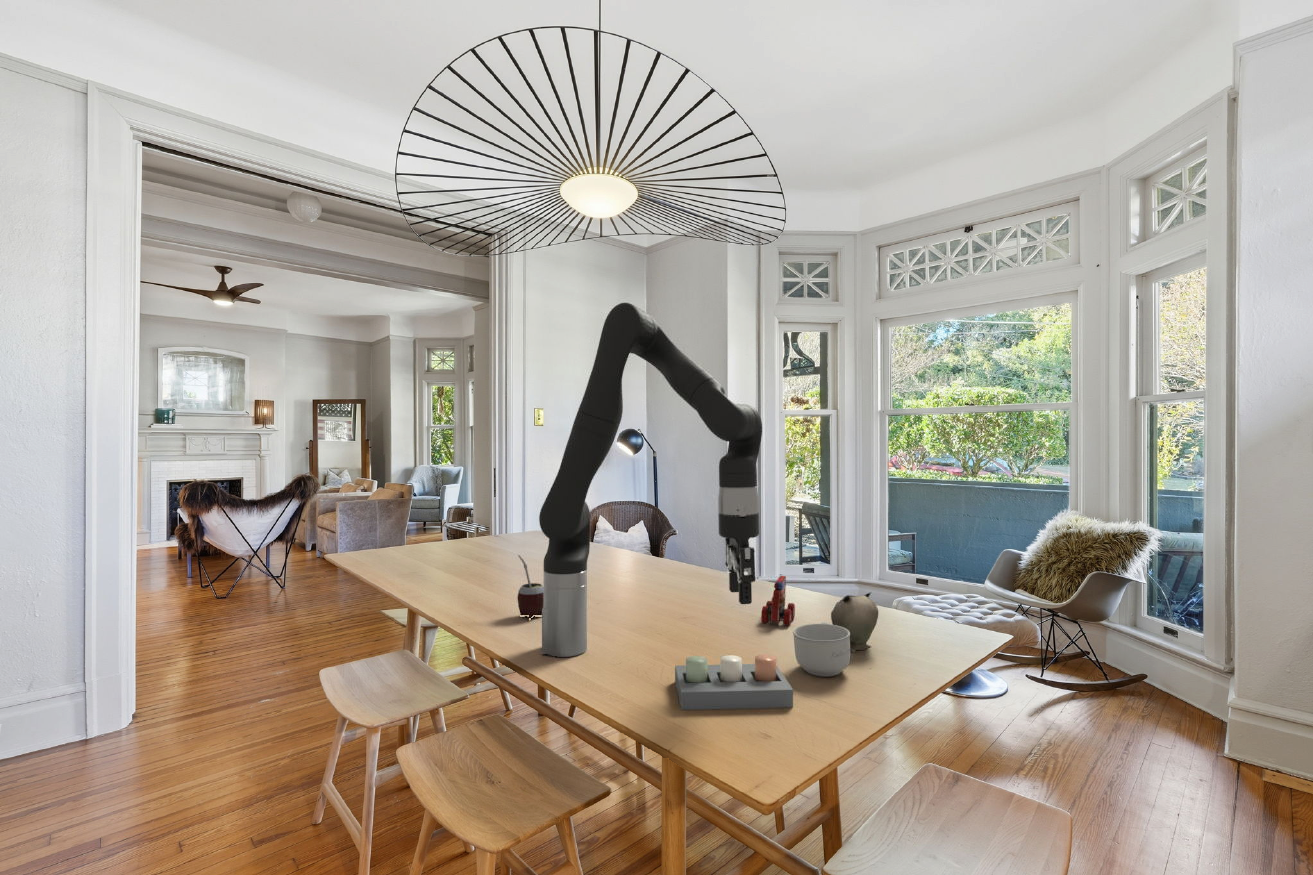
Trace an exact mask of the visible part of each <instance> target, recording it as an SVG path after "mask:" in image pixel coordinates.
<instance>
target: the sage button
mask: <svg viewBox="0 0 1313 875" xmlns="http://www.w3.org/2000/svg"><path fill="white" fill-rule="evenodd" d="M685 665H686V683H707V665H708V658H707V657H704V656H702V655H691V656H688V657H686V658H685Z"/></svg>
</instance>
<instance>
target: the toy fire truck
mask: <svg viewBox="0 0 1313 875" xmlns="http://www.w3.org/2000/svg"><path fill="white" fill-rule="evenodd" d="M786 586H787V576H786V575H780V576H779V577H778V578H777V580H776V582H775V583H774V585H773V588H774V590H773V594H772V597H771V600H767V601H766V605H763V606H762V607H761V608H762V609H761V614H760V615H761V617H760V619H761V623H762V624H769V623H770V622H772V623H776V624H777V623H779V622H781V620H782V622H783V625H784V626H786V627H790V626H791V624H792V621H793V620H795V615H796V605H795V603H794V602H789V603H787V607H786V597H787V596H786Z"/></svg>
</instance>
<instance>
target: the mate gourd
mask: <svg viewBox="0 0 1313 875" xmlns="http://www.w3.org/2000/svg"><path fill="white" fill-rule="evenodd" d="M518 558H519V559H520V561H521V562H522V564H523V568H524V571H525V576H526V579H527V582H528V583H525V584H522V585H521V586H520V587H519V589H518V593H517V604H518V610H519V613H520V614H519V615H529V618H531V617H532V616H533V615H542V609H543V607H544V585H542V584H541V583H537V582H534V583H532V582H531V579H530V576H529V571H528V564H527V563H526V561H525V560H524V559H523V557H522V556H521V555H520V554H518Z"/></svg>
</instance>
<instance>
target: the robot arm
mask: <svg viewBox="0 0 1313 875" xmlns="http://www.w3.org/2000/svg"><path fill="white" fill-rule="evenodd" d="M630 354H634V355H636V356H637V357H639V358H641V359H642V360H644V361H646V362H647V363H649V364H651V365H652V367H654V368H655V369H657V371H659V372H660V373H661V375H662V376H663V377H664V379H665V380H666V382H667V383H668V385H669V386H670V387H671V388H672V389H673V391H674V392H675V393H676V394H677V395H678V396H679V397H680V398H682V400H684V401H685V402H686V403H687V404H688V405H689V406H690V407H691V408H692V409H693V410H695V411H696V412H697V414H698V416H699V417H700V419H701V420H702V422H703V423H704V425H705V426H706V427H707V428H708V429H709V431H710V432H711V433H712V434H713V435H714V436H715V437H716V438H718V439H720V440H722V441H725V442H728V446H727V452H726V454H725V455H724V456H722V457H721V458H720V459H719V461H718V462H719V463H718V483H719V484H718V489H719V490H718V498H717V505H718V506H717V508H718V510H717V512H718V535H719V536H720V537H722V538H725V540H724V541H725V563H724V564H725V567H727V569H726V570H727V572H728V579H729V580H728V582H729V583H728V584H729V586H728V588H729V589H728V590H729V591H730V593H738V602H739V604H740V605H750V604H752V602H753V598H752V596H753V595H752V592H753V591H752V583H755V582H756V562H755V560H756V559H755V552H756V551H755V548H754V547H752V546H751V547H750V541H749V539H751V538H752V539H753V538H754V539H755V538H757V537H759V535H760V508H759V507H760V505H759V503H760V502H759V492H758V475H757V474H758V470H757V468H758V467H757V462H758V457H759V453H760V448H761V443H762V436H763V422H762V421H763V420H762V418H761V415H760V413H759V411H758V410H757V409H756V407H753V406H752V405H749V404H743V403H742V404H740V403H735V402H734V401H732V400H731V399H729V398H728V397H727V396H726V395H725V394H726V392H725V389H724V387H723V385H722V384H721V383H720V382H719V381H718V380H717V379H716V378H714V377H713V376H712V375H711V374H710V373H709V372H707V371H706V369H704V368H703V367H702V366H700V365H699V364H698V363H697V362H695V361H694V360H693V359H692V358H690V357H689V356H688V355H687V354H685V352H683V351H682V350H681V349H680V348H679V347H678V346H677V345H676V344H675V343H674V342H673V341H672V340H671V339H670V337H669V336H668V335H667V334H666V332H665V330H664V329H662V327H661V326H660V325H659V324H658V322H657V321H656V320H655V318H654V316H652V315H651V314H649V312H646V311H645V310H642V309H641V308H640V307H638V306H636V305H635V304H632V303H629V302H622V303H621V302H620V303H619V304H616V305H615V306H614V307H613V308H611V310H610V311H609V312H608V314H607V316H606V318H605V320H604V323H603V326H602V330H601V333H600V338H599V342H598V347H597V350H596V355H595V359H594V362H593V366H592V369H591V373H590V375H589V378H588V382H587V385H586V387H585V390H584V393H583V397H582V398H581V402H580V404H579V407H578V408H577V409H578V410H577V412H576V415H575V418H574V421H573V423H572V427H571V430H570V434H569V436H568V439H567V443H566V446H565V449H564V452H563V455H562V459H561V463H560V467H559V468H558V471H557V474H556V476H555V479H554V481H553V483H552V485H551V488H550V489H549V491H548V494H547V495H546V497H545V500H544V502H543V504H542V506H541V508H540V511H539V516H538V517H539V518H538V519H539V521H538V522H539V527H540V530H541V532H542V533H543V535H544V536H545V537H547V538H548V545H547V550H546V553H545V555H544V558H543V587H544V607H543V609H542V618H541V655H542V654H549V655H548V656H550V655H551V657H555V656H557V658H566V657H567V658H568V657H575V656H578V655H581V654H583V653H585V652H586V651H587V650H586V649H588V561H589V560H588V559H589V555H590V547H591V513H590V508H589V506H588V504H587V502H586V499H587V496H588V492H589V489H590V487H591V483H592V481H593V479H594V478H595V475H596V474H597V473H598V470H600V467H601V466H602V464H603V463H604V461H605V459H606V457H607V456H608V454H609V452H610V450H611V448H612V447H613V444H614V442H615V439H616V436H617V434H618V431H619V427H620V425H621V422H622V417H623V412H624V411H623V410H624V402H623V400H624V399H623V374H624V371H625V366H626V364H627V361H628V358H629V356H630ZM745 572H746V573H747V574H745Z"/></svg>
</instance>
